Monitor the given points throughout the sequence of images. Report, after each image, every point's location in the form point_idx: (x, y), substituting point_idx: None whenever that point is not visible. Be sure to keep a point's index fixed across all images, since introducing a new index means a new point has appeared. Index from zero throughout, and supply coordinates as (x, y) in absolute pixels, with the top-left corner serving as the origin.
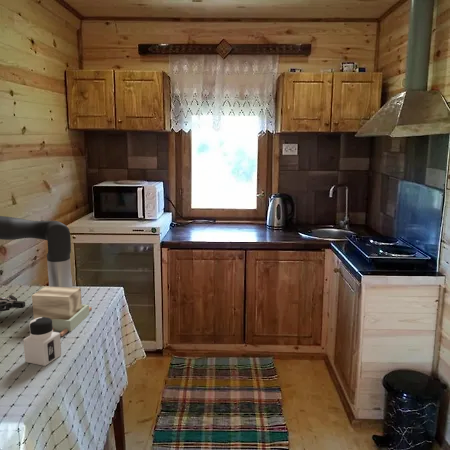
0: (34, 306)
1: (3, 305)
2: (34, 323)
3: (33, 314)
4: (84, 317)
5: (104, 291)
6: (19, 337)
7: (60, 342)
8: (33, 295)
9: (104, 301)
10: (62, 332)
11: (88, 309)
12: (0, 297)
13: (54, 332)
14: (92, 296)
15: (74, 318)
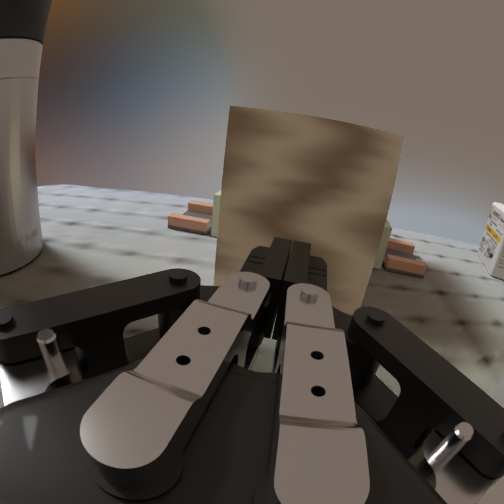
0: (386, 204)
1: (423, 349)
2: None
3: (376, 255)
4: None
5: (41, 196)
6: (472, 335)
7: (487, 224)
8: (401, 136)
9: (126, 197)
10: (406, 242)
11: None
12: (112, 434)
13: (501, 204)
14: (60, 208)
15: None
